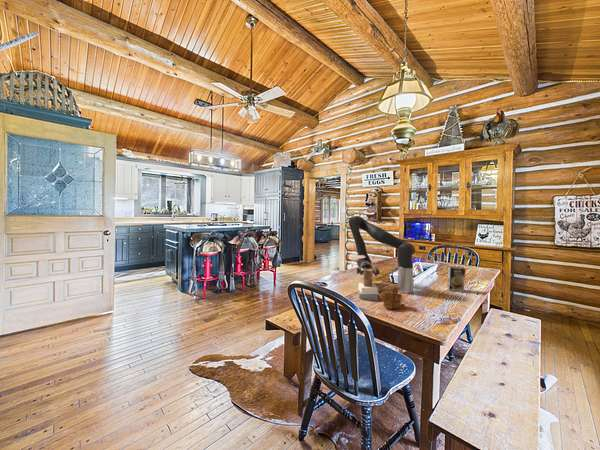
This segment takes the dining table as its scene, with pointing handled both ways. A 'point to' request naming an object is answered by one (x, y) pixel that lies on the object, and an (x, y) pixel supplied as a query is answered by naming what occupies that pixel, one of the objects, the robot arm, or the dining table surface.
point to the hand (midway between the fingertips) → (368, 274)
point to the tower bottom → (368, 296)
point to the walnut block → (368, 277)
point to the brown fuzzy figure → (392, 298)
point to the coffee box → (456, 279)
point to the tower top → (368, 289)
